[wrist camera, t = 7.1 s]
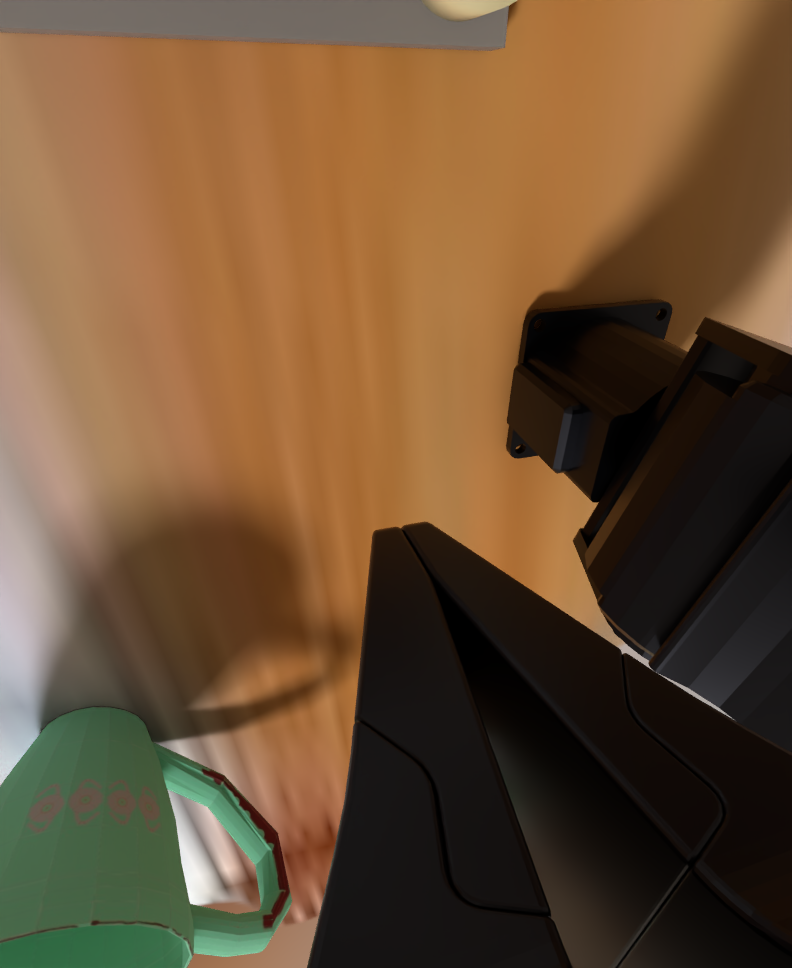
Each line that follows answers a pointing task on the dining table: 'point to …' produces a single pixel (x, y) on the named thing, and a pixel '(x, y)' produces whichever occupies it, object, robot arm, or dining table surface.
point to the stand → (272, 21)
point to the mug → (119, 853)
